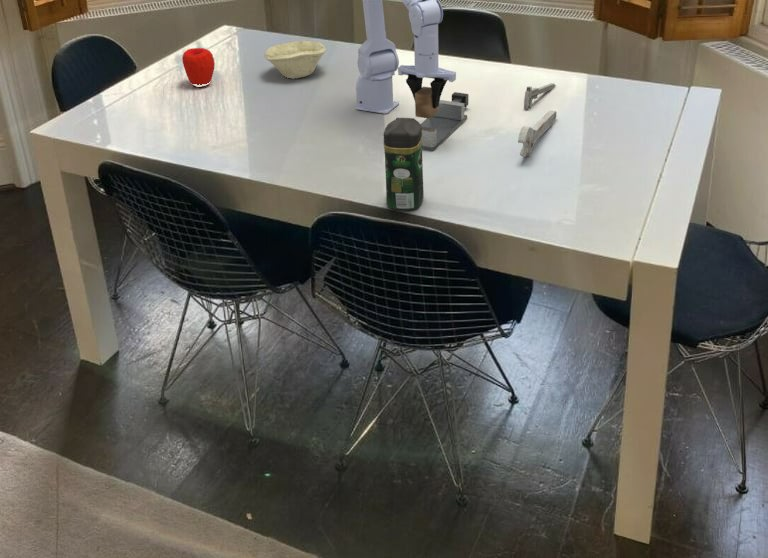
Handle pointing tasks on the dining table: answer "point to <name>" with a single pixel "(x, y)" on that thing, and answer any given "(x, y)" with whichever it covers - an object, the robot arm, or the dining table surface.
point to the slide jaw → (453, 107)
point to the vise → (438, 131)
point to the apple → (198, 65)
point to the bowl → (295, 57)
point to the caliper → (535, 94)
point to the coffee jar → (403, 164)
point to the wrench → (535, 132)
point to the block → (424, 103)
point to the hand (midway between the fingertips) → (427, 105)
